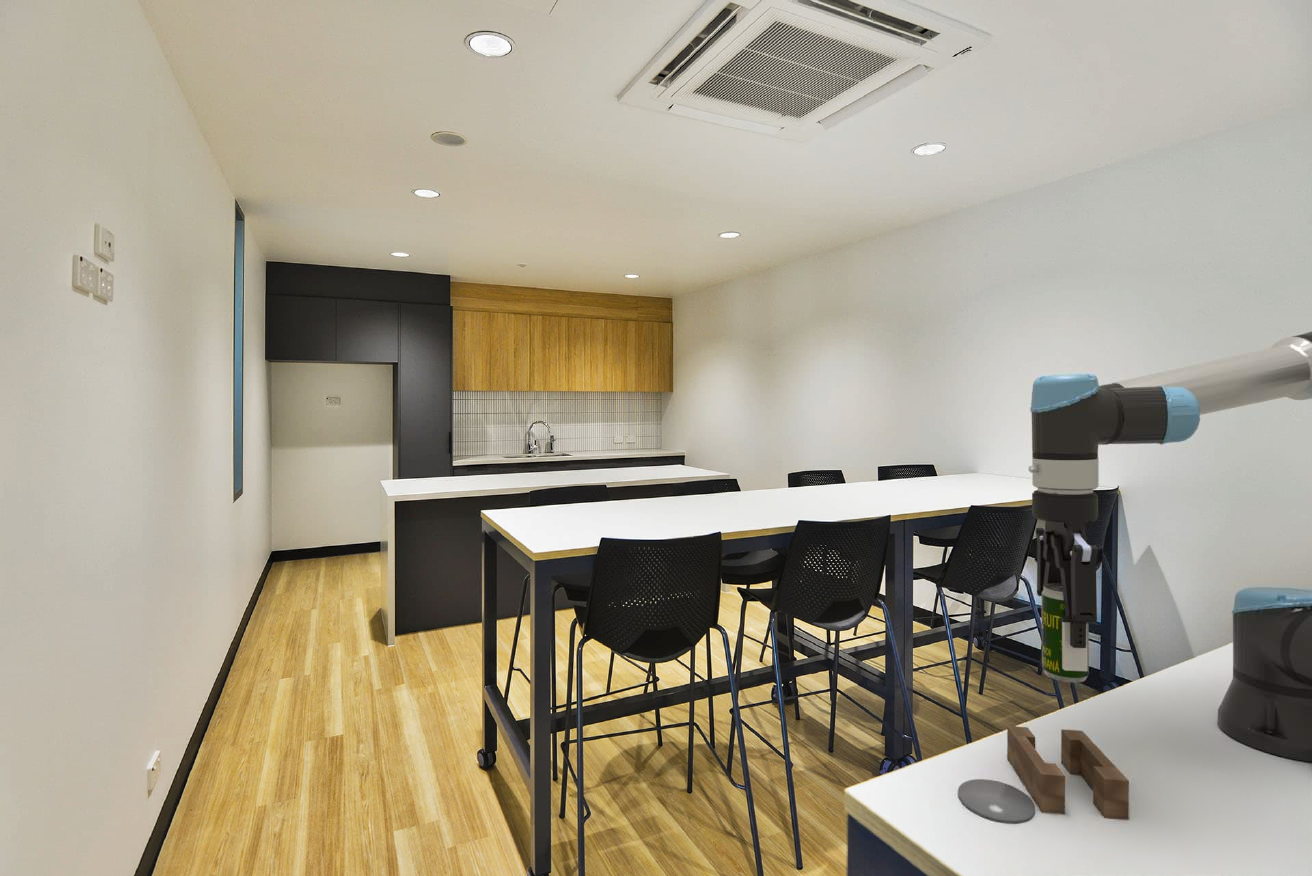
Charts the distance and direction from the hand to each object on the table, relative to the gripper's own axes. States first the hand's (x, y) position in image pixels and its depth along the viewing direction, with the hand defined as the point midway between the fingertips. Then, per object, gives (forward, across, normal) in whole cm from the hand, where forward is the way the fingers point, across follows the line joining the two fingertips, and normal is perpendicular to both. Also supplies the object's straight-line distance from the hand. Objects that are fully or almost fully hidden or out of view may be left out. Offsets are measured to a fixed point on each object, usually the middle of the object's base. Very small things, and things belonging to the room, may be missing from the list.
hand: (1065, 660), depth 89 cm
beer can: (+2, 0, 0) cm, 2 cm away
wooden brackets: (+17, 0, 0) cm, 18 cm away
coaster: (+17, +5, -10) cm, 21 cm away
